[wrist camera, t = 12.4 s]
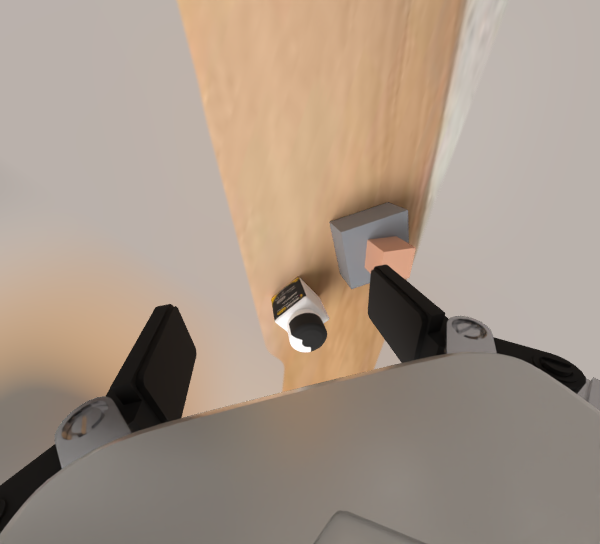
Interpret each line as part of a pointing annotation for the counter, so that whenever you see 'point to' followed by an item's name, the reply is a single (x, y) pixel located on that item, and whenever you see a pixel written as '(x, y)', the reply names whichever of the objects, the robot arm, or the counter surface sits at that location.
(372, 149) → the counter surface
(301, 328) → the medicine bottle
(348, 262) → the grey block
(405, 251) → the terracotta cube
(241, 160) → the counter surface
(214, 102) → the counter surface
